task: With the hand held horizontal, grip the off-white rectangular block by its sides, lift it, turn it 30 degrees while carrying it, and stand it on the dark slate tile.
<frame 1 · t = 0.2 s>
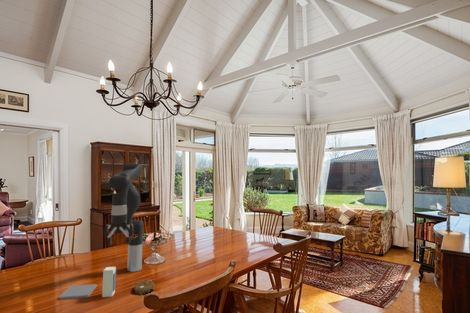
hand: (118, 244, 139), 29 cm above the table, tool pointing down, fingers open, 8 cm apart
slate tile: (78, 292, 146), on the table
decorative rock: (144, 289, 152), on the table
off-white rectangular block: (108, 294, 144), on the table
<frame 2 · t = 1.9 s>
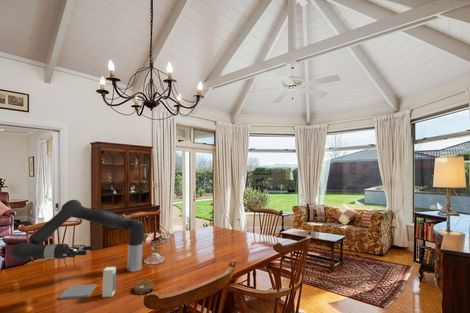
hand: (89, 250, 144), 24 cm above the table, tool horizontal, fingers open, 8 cm apart
nothing on the table moved.
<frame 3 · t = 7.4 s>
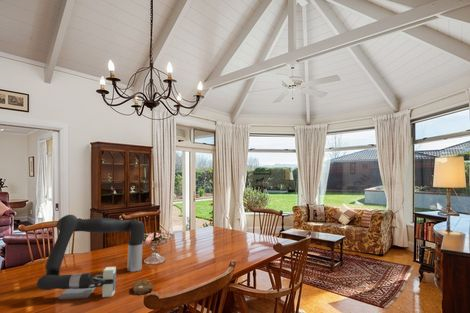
hand: (114, 279, 145), 8 cm above the table, tool horizontal, fingers closed on off-white rectangular block, 5 cm apart
off-white rectangular block: (108, 294, 144), on the table, touching gripper
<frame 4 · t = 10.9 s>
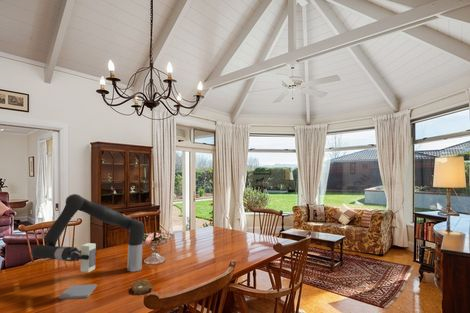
hand: (92, 255, 146), 21 cm above the table, tool horizontal, fingers closed on off-white rectangular block, 5 cm apart
off-white rectangular block: (87, 270, 146), point 13 cm above the table, touching gripper
when the fingers open (11 cm above the table, at t = 14.6 s): off-white rectangular block drops 1 cm, resting on slate tile.
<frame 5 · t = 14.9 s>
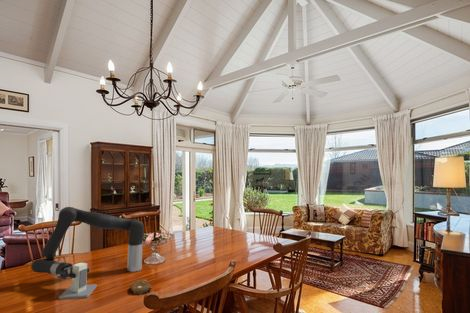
hand: (82, 273, 146), 11 cm above the table, tool horizontal, fingers open, 8 cm apart
off-white rectangular block: (78, 290, 147), point 1 cm above the table, touching slate tile
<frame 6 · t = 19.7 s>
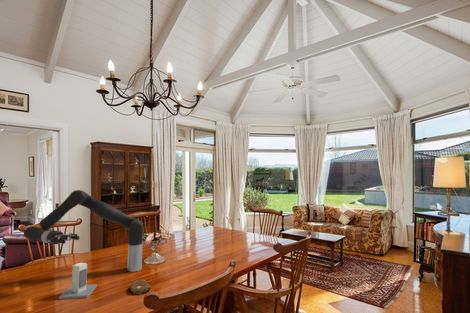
hand: (72, 239, 151), 28 cm above the table, tool horizontal, fingers open, 8 cm apart
at the end: off-white rectangular block inside the target area on the slate tile (0.0 cm from its centre), point 1.2 cm above the slate tile's base; off-white rectangular block tilted 0°; the gripper is holding nothing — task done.
